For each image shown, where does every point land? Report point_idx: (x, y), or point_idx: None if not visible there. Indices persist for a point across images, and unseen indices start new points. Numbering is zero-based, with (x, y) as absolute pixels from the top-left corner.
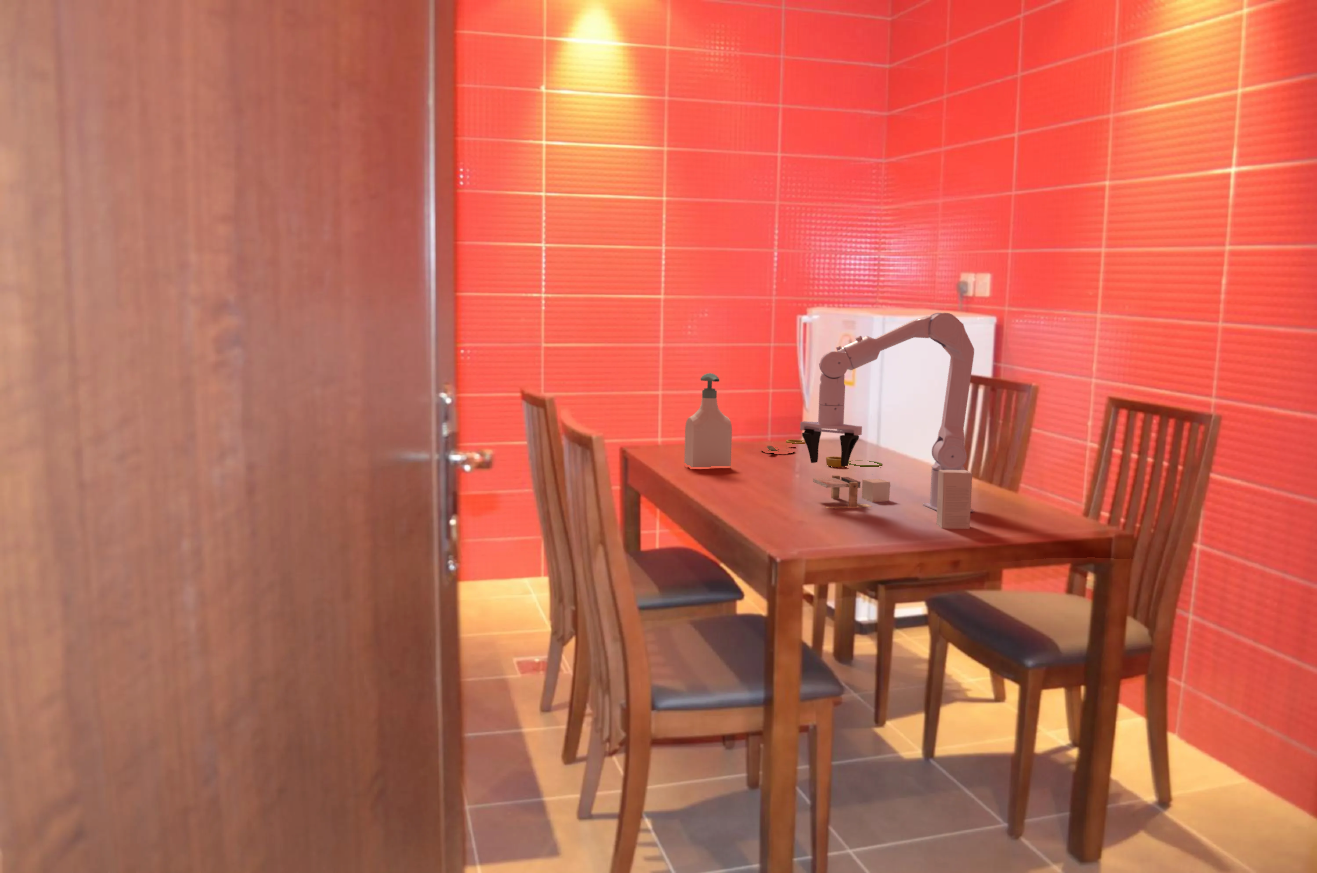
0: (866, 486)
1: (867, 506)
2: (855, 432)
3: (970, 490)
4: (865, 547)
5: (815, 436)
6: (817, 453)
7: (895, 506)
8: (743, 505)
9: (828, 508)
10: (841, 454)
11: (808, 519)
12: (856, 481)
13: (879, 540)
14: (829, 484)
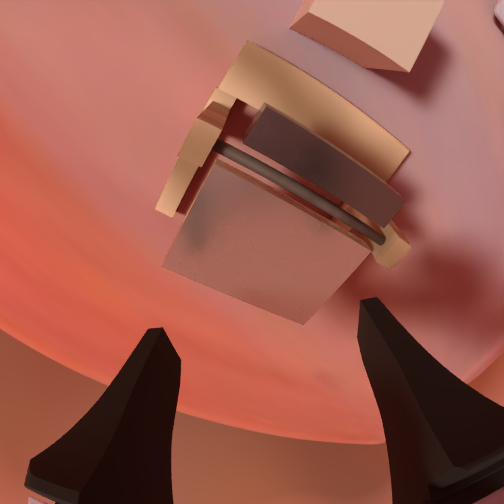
0: (342, 37)
1: (397, 161)
2: (496, 496)
3: None
4: None
5: (142, 496)
6: (149, 371)
7: None
8: (120, 349)
9: None
10: (378, 402)
11: (324, 359)
12: (388, 209)
13: (469, 363)
14: (310, 316)
